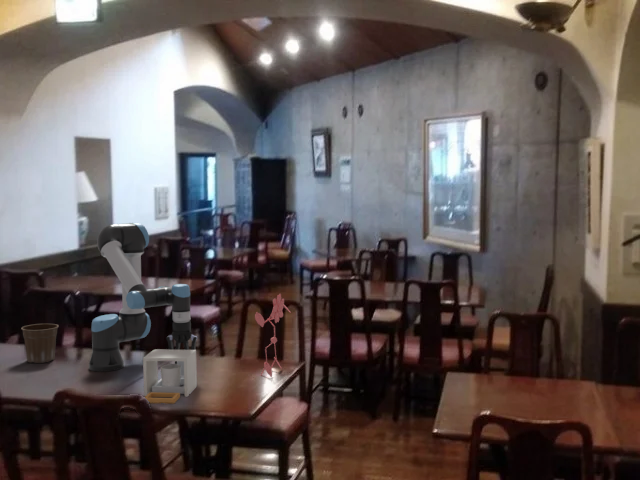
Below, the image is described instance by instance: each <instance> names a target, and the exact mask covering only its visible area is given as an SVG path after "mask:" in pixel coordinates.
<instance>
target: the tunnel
mask: <svg viewBox="0 0 640 480" xmlns="http://www.w3.org/2000/svg"><path fill="white" fill-rule="evenodd" d="M175 361H184V391H185V393H184V397H185V398H186V397H189V396H190V395H191V393H192V392H193V391H194V390H195V389H196V388H197V387H198V382H197V381H198V380H197V378H198V377H197V376H198V374H197V349H195V350H191V349H189V350H185V349H180V350H175V349H174V350H169V348H168V349H167V348H166V349H160V348H157V349H156V348H155V349H153V350H152V351H150V352H149V353H147V354H145V356H144V357H142V366H143V396H144V397H145V396H146V395H147V394H149V393H150V392H152V386H153V385H154V384H155V383H157V382H158V381H159V369H158V367H159V365H158V364H159V363H158V362H175ZM189 394H190V395H189Z"/></svg>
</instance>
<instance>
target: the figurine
mask: <svg viewBox="0 0 640 480" xmlns="http://www.w3.org/2000/svg"><path fill="white" fill-rule="evenodd" d="M272 305H273V307H272V311H271V313H270V316H269V317H268V318H267V319H266V320H265V319H264V317H263V314H261V313H259V312H258V311H256V312H255V314H254V319H255V321H256V323H257V325H259V326H260V327H262V328H263V327H264V326H265V324H266V323H267V322H269V323H270V324H271V325H272V327H273V337H271V338H270V344H269V345H267V346H266V347H265V349H264V351H265V361H264V363H263V369H262V371H261V373H260V376H263V373H264V371H265V372H266V373H267V375H268V376H269V377H270V378H272V377H273V370H272V368H273V366H274V364H275V363H277V365H278V367H279V368H280V369H281V370H283V368H282V366H281V365H280V363H279V361H278V358H277V350H276V348H274V354H275V356H274V357H273V359H274V360H273V361H272V364H271V365H270V363H269V362H268V356H267V348H268V347H270V346H271V345H272V344H274V347H276V344H277V342H278V338H277V337H276V326H275V325H274V323H275V324H277V323H279V321H280V318H283V317H284V313H283V309H286V311H288V312H289V313H290V314H291V313H292V312H291V311H290V310H289V308H288V307H287V306H286V305H285V298H282V294H281V293H279V294H277V296H276V298H273V300H272ZM272 320H274V323H273V322H272ZM295 376H296V374H294V375H293V376H289V377H288V379H289V378H290V379H291V378H293V377H295ZM252 378H253V379H255V377H252Z"/></svg>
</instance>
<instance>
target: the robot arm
mask: <svg viewBox="0 0 640 480" xmlns="http://www.w3.org/2000/svg"><path fill="white" fill-rule="evenodd" d="M149 243H150V235H149V232H148V230H147V228H146V227H145V226H144V224H142V223H138V222H137V223H136V222H129V223H116V224H115V223H111V224H107V225H106V226H104V227H103V228H102V229H101V230H100V231H99V233H98V235H97V240H96V244H97V248H98V251H99V253H100V255H101V257H103V258H105V259H106V260H107V262H108V263H109V265H110V266H111V269H112V270H113V271H114V274H115V275H116V277H117V278H118V280H119V281H120V284H121V288H122V290H121V291H122V294H121V295H122V299H121V300H122V308H121V309H120V310H119V315H118V314H116V313H109V314H104V315H99V316H97V317H95V318H93V319H92V320H91V321H92V322H91V330H90V331H91V343H92V344H91V345H92V346H91V347H92V353H91V356H90V358H89V362H88V370H90V371H92V372H112V371H116V370H120V369H122V368H124V365H125V364H124V358H123V356H122V353H121V351H120V343H123V342H127V341H128V342H129V341H134V340H136V341H137V340H140V339H143V338H145V337H147V335H149V333H150V330H151V328H152V327H151V326H152V325H151V324H152V322H151V319H150V315H149V314H148V313H147V312H146V310H145V309H147V308H151V307H152V308H153V307H155V308H156V307H161V306H171V307H172V310H171V311H172V313H171V314H172V317H171V318H172V321H173V322H172V333H171V334H169V335H168V336H167V337H165V339H166V342H167V344H168V350H181V349H180V348H181V344H183V348H184V349H183V350H196V346H197V341H198V338H199V337H198V336H197V335H194V334H193V332H192V323H191V317H192V315H191V290H190V289H191V288H190V286H189V284H186V283H177V284H173V285H171V287H170V286H167V285H165V286H163V285H161V286H158V287H156V288H149V289H147V288H146V286H145V284H144V283H143V282H142V259H141V258H142V257H141V256H142V255H144V254H145V249H146V247H148V246H149ZM173 339H174V341H175V349H174V342H173ZM189 340H191V346H190V347H189V345H190V344H189ZM174 364H178V361H174Z"/></svg>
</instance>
